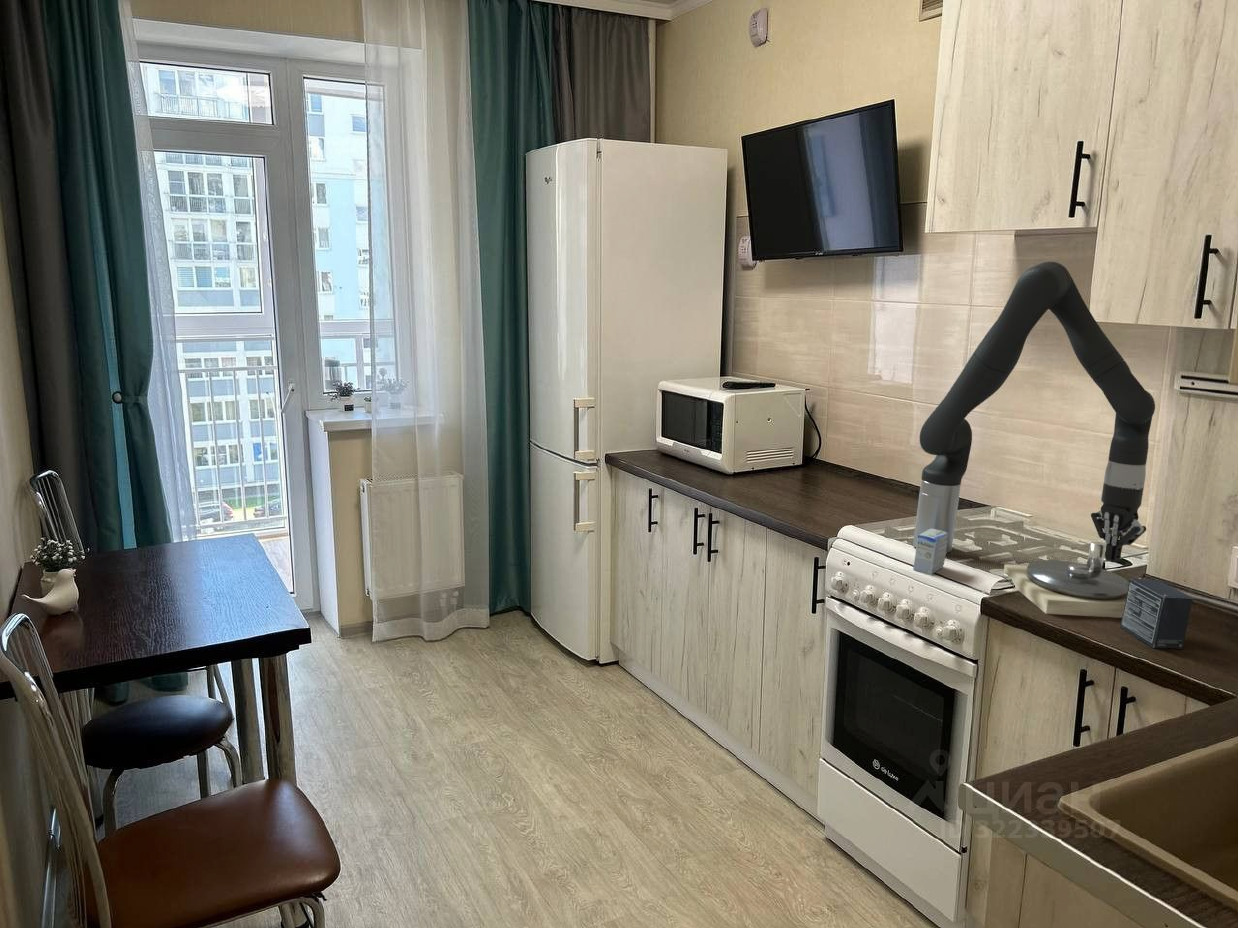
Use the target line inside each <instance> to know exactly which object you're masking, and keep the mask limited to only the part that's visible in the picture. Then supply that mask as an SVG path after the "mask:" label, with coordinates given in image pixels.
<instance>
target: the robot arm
mask: <svg viewBox="0 0 1238 928" xmlns="http://www.w3.org/2000/svg"><path fill="white" fill-rule="evenodd" d="M1048 310H1049V311H1050V312H1051V313H1052V314H1053V315H1054V316H1055V317H1056V318H1057V320H1058V321H1059V322H1060V325H1062V328H1063V330H1064V331H1065V333H1066V336H1067V337H1068V339H1069V343H1070V345H1071V347H1072V350H1073V352H1074V354H1075V356H1076V358H1077V360H1078V362H1079V363H1080V365H1081V366H1082V367H1083V369H1084V370H1085V371H1086V373H1087V374H1088V375H1089V377H1090V378H1091V379H1092V380H1093V382H1094V383H1095V384H1096V386H1097V387H1098V388H1100V390H1101V391H1102V393H1103V394H1104V396H1105V398H1106V399H1107V401H1108V403H1109V405H1110V406H1111V408H1112V410H1113V411H1114V412H1115V418H1114V428H1113V429H1114V430H1113V436H1112V439H1111V441H1110V442H1111V443H1110V448H1109V452H1108V453H1109V454H1108V460H1107V463H1106V464H1107V465H1106V467H1105V471H1104V472H1105V473H1104V478H1103V486H1102V492H1101V497H1100V498H1101V499H1100V501H1101V503H1103V504H1102V505H1101V507H1100V510H1099V511H1097V512H1092V513H1090V517H1091V520H1092V522H1093V525H1094V527H1095V529H1096V532H1097V534H1098V537H1099V538H1100V539H1103V540H1104V542H1105V544H1106V548H1105V554H1104V558H1105V560H1106V561H1108V562H1110V563H1118V562H1119V561H1120V560H1121V557H1122V551H1123V547H1124V546H1127V545H1128V546H1130V545H1132V544H1133V543H1134V542H1135V541H1137V540H1138V539H1139V538H1140V537H1141V536H1142V535H1143V534H1144V533H1145V532H1146V531H1147V527H1146V526H1145V525H1141V523H1140V522H1139V514H1138V511H1139V508H1141V506H1142V501H1143V495H1144V488H1145V481H1146V474H1147V473H1146V472H1147V471H1146V469H1147V467H1146V466H1147V459H1148V452H1149V442H1150V441H1149V435H1150V430H1151V426H1152V421H1153V420H1152V419H1153V416H1154V414H1155V410H1156V403H1155V399H1154V397H1153V395H1152V394H1151V393H1150V392H1149V391H1148V390H1146V389H1145V388H1144V387H1143V385H1142V384H1141V383H1140V381H1139V380H1138V379H1137V377H1135V376H1134V374H1133V373H1132V371H1131V369H1130V366H1129V365H1128V363H1127V361H1126V360H1125V359H1124V358H1123V357H1122V355H1121V353H1120V352H1119V351H1118V350H1117V348H1116V347H1115V346H1114V344H1113V343H1112V341H1110V339H1109V338H1108V337H1107V335H1106V334H1105V332H1104V331H1103V330H1102V328H1101V326H1100V325H1099V324H1098V323H1097V320H1096V319H1095V318H1094V316H1093V315H1092V312H1091V310H1090V309H1089V307H1088V306H1087V304H1086V303H1085V300H1084V299H1083V297H1082V295H1081V292H1080V291H1079V289H1078V286H1077V285H1076V283H1075V281H1074V279H1073V277H1072V275H1071V274H1070V272H1069V270H1068V268H1066V266H1064V265H1063V264H1062V263H1059V262H1057V261H1044V262H1040V263H1038V264H1037V265H1034V266H1032V267H1030V268H1028V269H1026V270H1025V271H1024V272H1023V273H1022V274H1021V275H1020V276H1019V278H1018V279H1017V282H1016V283H1015V285H1014V286H1013V289H1012V291H1011V293H1010V295H1009V298H1008V299H1007V302H1006V304H1005V305H1004V308H1003V309H1002V311H1001V313H1000V315H999V316H998V318H997V319H996V321H995V322H994V323H993V325H992V326H991V327H990V328H989V330H988V331H987V333H986V334H985V335H984V337H983V339H982V340H981V341H980V343H979V344H978V345H977V346H976V348H975V350H974V351H973V353H972V354H971V356H970V358H969V359H968V360H967V363H966V364H965V366H964V368H963V369H962V371H961V372H960V374H959V375H958V376H957V378H956V380H955V382H953V384H952V386H951V387H950V389H949V390H948V392H947V393H946V395H945V396H944V398H943V399H942V400H941V402H939V404H937V405H938V406H936V407H935V409H934V410H933V411H932V413H931V414H930V415H928V416H929V417H928V418H927V419H926V420H925V422H924V423H923V424H922V427H921V429H920V433H919V445H920V447H921V449H922V450H923V452H925V453H927V454H929V455H932V456H935V458H934V459H933V460H932V461H931V462H930V463H929V464H927V465H925V467H924V468H923V469H922V471H921V480H920V485H919V486H920V487H919V488H920V489H919V493H918V494H919V495H918V502H917V509H916V518H915V526H914V533H913V541H912V546H915V547H916V546H917V539H918V535H920V534H921V533H923V532H925V531H927V530H929V529H936V530H941V531H944V532H947V533H949V534H948V542H947V548H946V552H950V551H951V552H952V550H953V542H954V535H955V528H956V521H957V514H958V507H959V501H960V500H959V499H960V492H961V485H962V479H963V477H964V476H965V474H966V471H967V469H968V464H969V459H970V453H971V449H972V443H973V430H972V427H971V424H970V423H969V421H968V420H967V419H966V418H967V416H968V415H969V414H971V412H972V411H973V410H975V409H976V408H977V407H978V406H980V405H981V404H983V403H984V402H985V401H986V400H987V399H989V398H990V397H991V396H993V395H994V394H995V393H996V392H997V391H999V389H1000V388H1002V386H1003V385H1004V383H1005V382H1006V381H1007V379H1008V378H1009V376H1010V374H1011V373H1012V372H1013V370H1014V369H1015V368H1016V366H1017V364H1018V363H1019V359H1020V357H1021V356H1022V352H1023V349H1024V346H1025V343H1026V340H1027V338H1028V337H1029V335H1030V333H1031V331H1032V330H1033V329H1034V327H1036V324H1037V323H1038V322H1039V321H1040V320H1041V318H1042V317H1043V315H1045V314H1046V313H1047V311H1048ZM951 552H950V553H951Z"/></svg>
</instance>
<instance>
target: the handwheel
mask: <svg viewBox="0 0 1238 928" xmlns="http://www.w3.org/2000/svg"><path fill="white" fill-rule="evenodd" d="M1105 550H1106V543H1103V542H1101V541H1090V545H1089V550H1088V556H1087V562H1086V564H1084V563H1079V562H1075V561H1066V560H1054V559H1053V560H1052V559H1047V560H1046V559H1045V560H1044V559H1043V560H1037V561H1032V562H1030V563H1028V564H1027V565H1026V566H1027V571H1026V575H1027V577H1028V578H1029V579H1030V580H1031V581H1033V582H1034V583H1036V584H1038V585H1040V586H1042V587H1045V588H1047V589H1050V590H1053V591H1056V592H1060V593H1064V594H1068V595H1072V596H1078V597H1084V598H1092V599H1118V598H1123V597H1125V596H1127V592H1128V586H1129V580H1127V579H1126V578H1125V577H1123V576H1121V575H1119V574H1116V573H1115V572H1113V571H1109V570H1107V569H1104V568H1103V565H1104V558H1105Z"/></svg>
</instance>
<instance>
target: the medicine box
mask: <svg viewBox="0 0 1238 928" xmlns="http://www.w3.org/2000/svg"><path fill="white" fill-rule="evenodd" d="M948 534H949V533H947V532H944V531H941V530H936V529H929V530H927V531H925V532H923V533H921V534H920V535H918V539H917V546H916V548H915V555H914V560H913V571H916V572H919V573H922V574H927V575H933V574H934V573H936V572H938V571H939V570H940V569H942V568H943V567H944V566H945V559H946V554H947V553H946V548H947V542H948ZM943 565H944V566H943Z"/></svg>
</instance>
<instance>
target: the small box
mask: <svg viewBox="0 0 1238 928" xmlns="http://www.w3.org/2000/svg"><path fill="white" fill-rule="evenodd" d="M1128 582H1129V586H1128V592H1127V597H1126V602H1125V607H1124V612H1123V617H1122V618H1121V621H1120V626H1119V627H1120V628H1121V629H1122V630H1124V631H1125V632H1127V633H1128V634H1130V635H1132V636H1133V637H1135V638H1136V639H1138V640H1139V641H1141V642H1142V643H1144V644H1146V645H1148V646H1149V647H1151V648H1152V649H1168V648H1170V649H1171V650H1173V649H1174V650H1175V649H1176V650H1182V649H1183V648H1184V643H1185V638H1186V633H1187V629H1188V625H1189V624H1188V623H1189V619H1190V614H1191V610H1192V605H1193V602H1194V597H1192V596H1190V595H1188V594H1187V593H1184V592H1183V591H1181V590H1178V589H1176V588H1174V587H1173V586H1171V585H1169V584H1166V583H1165V582H1163V581H1161V580H1159V579H1150V578H1136V577H1135V578H1132V577H1131V578H1129V579H1128Z"/></svg>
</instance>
